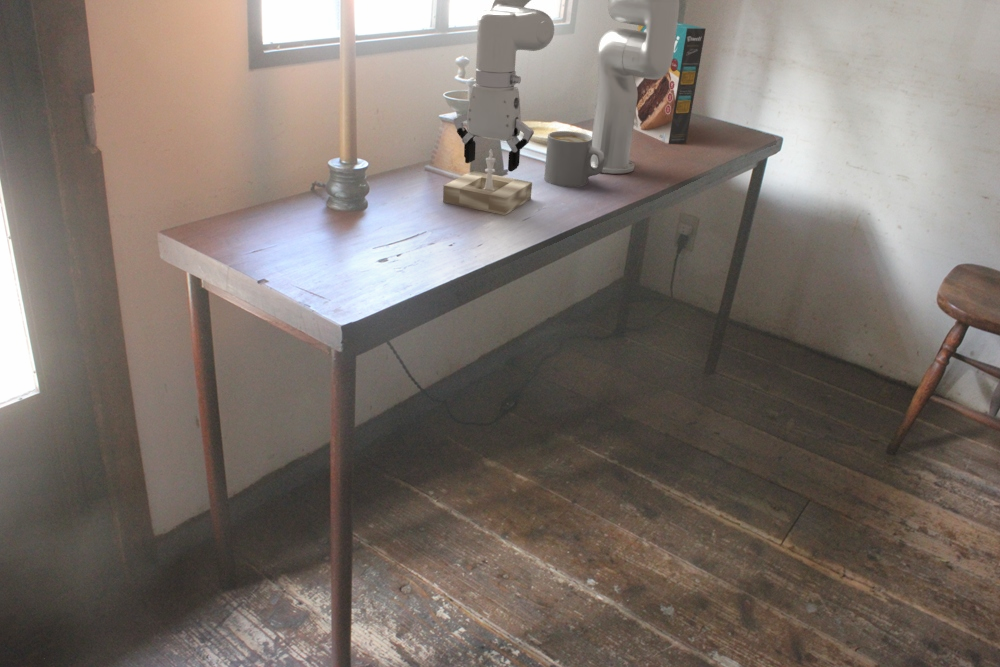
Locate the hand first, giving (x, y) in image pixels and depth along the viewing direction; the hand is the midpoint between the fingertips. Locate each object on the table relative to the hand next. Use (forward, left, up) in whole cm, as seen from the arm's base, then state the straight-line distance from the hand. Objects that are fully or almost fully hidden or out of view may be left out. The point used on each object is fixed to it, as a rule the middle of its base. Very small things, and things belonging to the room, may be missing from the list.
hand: (491, 165), depth 161 cm
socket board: (0, 0, -7) cm, 7 cm away
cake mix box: (-83, +13, -8) cm, 84 cm away
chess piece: (0, 0, -7) cm, 7 cm away
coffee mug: (-23, +10, -8) cm, 26 cm away
